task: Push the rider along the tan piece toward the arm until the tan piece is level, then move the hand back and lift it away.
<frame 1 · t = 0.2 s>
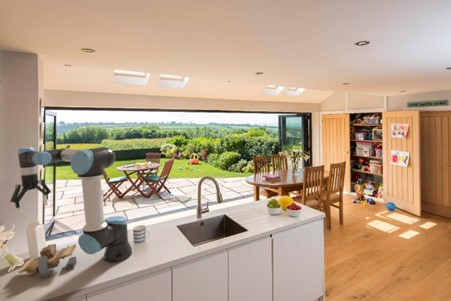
hand: (33, 208, 147), 28 cm above the worktop, fingers open, 13 cm apart
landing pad: (72, 266, 136), on the worktop
fulcrum: (49, 270, 133), on the worktop
tan piece: (49, 258, 132), point 6 cm above the worktop, hinge at 12.0°
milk: (38, 257, 146), on the worktop
rider: (50, 256, 132), point 8 cm above the worktop, tilted 12°
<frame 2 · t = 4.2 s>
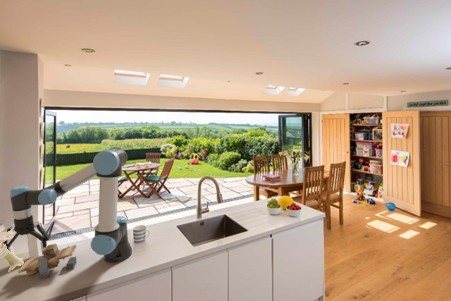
hand: (28, 256, 129), 10 cm above the worktop, fingers open, 13 cm apart
tan piece: (49, 258, 132), point 6 cm above the worktop, hinge at 10.6°
rider: (52, 255, 132), point 8 cm above the worktop, tilted 11°, touching gripper
everything else where it was.
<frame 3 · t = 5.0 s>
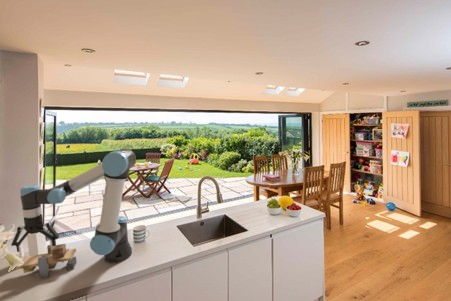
hand: (37, 254, 130), 10 cm above the worktop, fingers open, 13 cm apart
tan piece: (48, 259, 132), point 6 cm above the worktop, hinge at -0.1°
rider: (59, 255, 133), point 7 cm above the worktop, touching gripper
everything else where it was.
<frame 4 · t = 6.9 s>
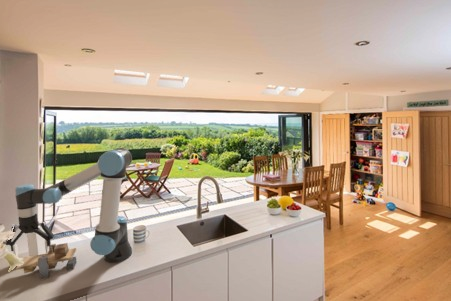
hand: (32, 254, 129), 11 cm above the worktop, fingers open, 13 cm apart
tan piece: (48, 259, 132), point 6 cm above the worktop, hinge at 1.2°, touching rider
rider: (61, 254, 134), point 8 cm above the worktop, touching tan piece
everything else where it was.
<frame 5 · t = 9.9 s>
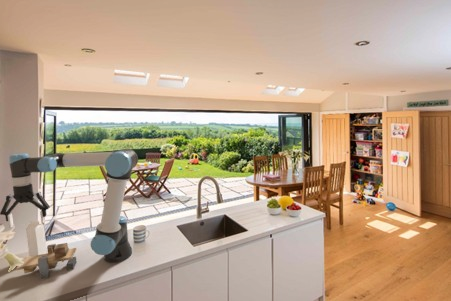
hand: (27, 224, 127), 27 cm above the worktop, fingers open, 13 cm apart
tan piece: (48, 259, 132), point 6 cm above the worktop, hinge at 2.1°, touching rider
everything else where it was.
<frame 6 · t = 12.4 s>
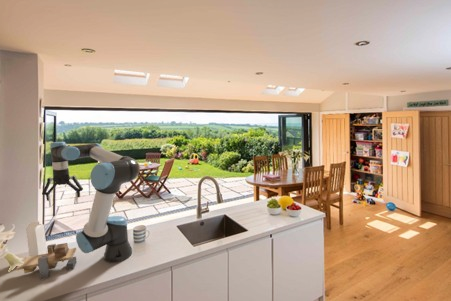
hand: (64, 204, 146), 31 cm above the worktop, fingers open, 13 cm apart
nothing on the worktop moved.
at the end: tan piece at +2° (first picture: +12°); rider 1.0 cm from the target spot on the tan piece, point -1.8 cm above the tan piece's base; rider tilted 2° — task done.
